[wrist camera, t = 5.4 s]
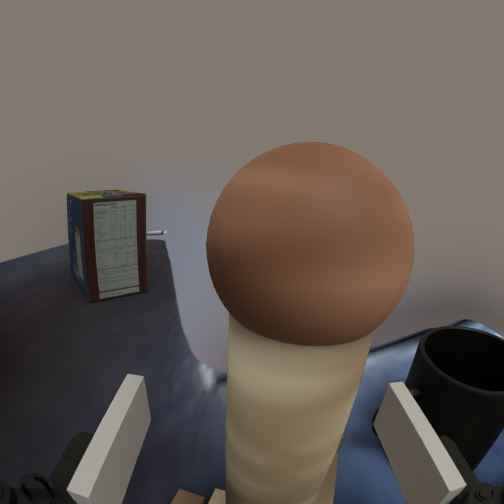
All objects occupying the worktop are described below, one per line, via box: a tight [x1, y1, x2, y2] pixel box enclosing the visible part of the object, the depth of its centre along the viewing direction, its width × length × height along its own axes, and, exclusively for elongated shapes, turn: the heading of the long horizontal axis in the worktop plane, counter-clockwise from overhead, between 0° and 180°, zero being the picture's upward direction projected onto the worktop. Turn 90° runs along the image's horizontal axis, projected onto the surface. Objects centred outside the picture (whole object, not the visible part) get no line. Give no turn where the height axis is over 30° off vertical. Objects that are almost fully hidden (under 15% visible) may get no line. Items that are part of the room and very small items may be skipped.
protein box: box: [67, 190, 148, 303], centre depth 47 cm, size 10×15×16 cm
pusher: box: [206, 142, 414, 504], centre depth 13 cm, size 6×16×19 cm, turn 165°
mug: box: [372, 326, 504, 472], centre depth 17 cm, size 9×12×9 cm
